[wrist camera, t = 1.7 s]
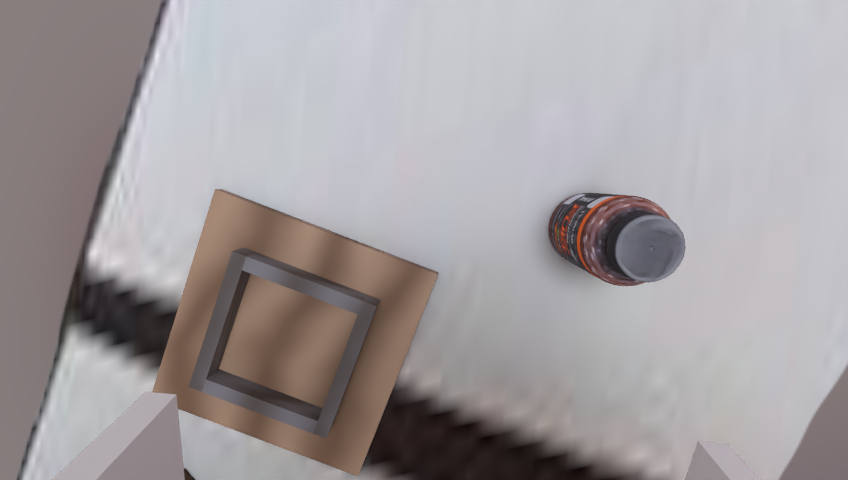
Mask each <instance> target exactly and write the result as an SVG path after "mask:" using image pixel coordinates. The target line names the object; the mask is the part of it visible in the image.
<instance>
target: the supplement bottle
mask: <svg viewBox="0 0 848 480" xmlns="http://www.w3.org/2000/svg"><path fill="white" fill-rule="evenodd" d="M549 233H550V238H551V242H552V244H553V246H554V248H555V249H556V250H557V252H558V253H559V254H560V255H561V256H562V257H564V258H565V260H566V259H567V260H568V261H570V262H572V263H573V264H575V265H577V266H578V267H580V268H582V269H583V270H585V271H587V272H589V273H590V274H592V275H594V276H595V277H598V278H599V279H601V280H603V281H605V282H608V283H610V284H613V285H618V286H635V285H639V284H642V283H645V282H653V281H658V280H661V279H663V278H666V277H667V276H669V275H670V274H671V273H673V272H674V271H675V270H676V269H677V267H678V266H679V265H680V263H681V261H682V260H683V257H684V253H685V239H684V235H683V233H682V231H681V230H680V228H679V227H678V226H677V224H676V223H674V222H673V221H672V220H671V219H670V217H669V216H668V214H667V213H666V212H665V211H664V210H663V209H662V208H661V207H660V206H658V205H657V204H656V203H654V202H652V201H650V200H648V199H645V198H641V197H637V196H627V195H612V194H599V193H583V194H578V195H574V196H572V197H570V198H568V199H566V200H565V201H563V202H562V203H561V204H560V205H559V206H558V207H557V209H556V210H555V212H554V213H553V215H552V218H551V221H550V226H549Z"/></svg>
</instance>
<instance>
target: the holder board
mask: <svg viewBox="0 0 848 480" xmlns="http://www.w3.org/2000/svg"><path fill="white" fill-rule="evenodd" d="M437 276H438V272H435V271H433V270H430V269H428V268H425V267H422V266H420V265H417V264H415V263H412V262H409V261H407V260H404V259H402V258H399V257H396V256H394V255H391V254H389V253H386V252H383V251H381V250H378V249H375V248H373V247H370V246H368V245H365V244H362V243H360V242H357V241H355V240H352V239H349V238H347V237H344V236H342V235H339V234H336V233H334V232H331V231H329V230H326V229H323V228H321V227H318V226H316V225H313V224H310V223H308V222H305V221H303V220H300V219H297V218H295V217H292V216H290V215H287V214H284V213H282V212H279V211H276V210H274V209H271V208H269V207H266V206H263V205H261V204H258V203H256V202H253V201H250V200H248V199H245V198H243V197H240V196H237V195H235V194H232V193H230V192H227V191H224V190H222V189H215V191H214V194H213V198H212V201H211V204H210V207H209V211H208V214H207V217H206V220H205V224H204V227H203V230H202V233H201V236H200V240H199V243H198V246H197V249H196V253H195V256H194V259H193V262H192V265H191V269H190V272H189V275H188V278H187V282H186V285H185V288H184V291H183V295H182V298H181V301H180V304H179V307H178V311H177V314H176V317H175V320H174V324H173V327H172V330H171V333H170V337H169V340H168V343H167V346H166V349H165V353H164V356H163V359H162V362H161V366H160V369H159V372H158V375H157V378H156V382H155V385H154V388H153V391H152V392H154V393H165V394H176V395H177V405H178V409H180V410H183V411H186V412H188V413H191V414H194V415H196V416H199V417H202V418H204V419H207V420H210V421H212V422H215V423H218V424H220V425H223V426H226V427H228V428H231V429H234V430H236V431H239V432H242V433H244V434H247V435H250V436H252V437H255V438H258V439H260V440H263V441H266V442H268V443H271V444H274V445H276V446H279V447H282V448H284V449H287V450H289V451H292V452H295V453H297V454H300V455H303V456H305V457H308V458H311V459H313V460H316V461H319V462H321V463H324V464H327V465H329V466H332V467H335V468H337V469H340V470H343V471H345V472H348V473H351V474H353V475H356V476H358V475H359V473H360V470H361V468H362V465H363V462H364V460H365V457H366V455H367V452H368V450H369V447H370V445H371V442H372V440H373V437H374V435H375V432H376V430H377V427H378V425H379V422H380V420H381V417H382V415H383V412H384V409H385V407H386V404H387V402H388V399H389V397H390V394H391V392H392V389H393V387H394V384H395V382H396V379H397V377H398V374H399V372H400V369H401V367H402V364H403V362H404V359H405V356H406V354H407V351H408V349H409V346H410V344H411V341H412V339H413V336H414V334H415V331H416V329H417V326H418V324H419V321H420V319H421V316H422V314H423V311H424V309H425V306H426V304H427V301H428V298H429V296H430V293H431V291H432V288H433V286H434V283H435V281H436V278H437Z"/></svg>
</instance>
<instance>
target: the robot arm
mask: <svg viewBox="0 0 848 480" xmlns="http://www.w3.org/2000/svg"><path fill="white" fill-rule="evenodd" d="M52 480H185V477H184V466H183V456H182V446H181V436H180V426H179V416H178V405H177V395H176V394H165V393H154V392H145V393H144V394H143V395H142V396H141V397H140V398H139V399H138V400H137V401H136V402H134V403H133V404H132V405H131V406H130V407H129V408H128V409H127V410H126V411H125V412H124V413H123V414H122V415H121V416H120V417H118V418H117V419H116V420H115V421H114V422H113V423H112V424H111V425H110V426H109V427H108V428H107V429H106V430H105V431H104V432H102V433H101V434H100V435H99V436H98V437H97V438H96V439H95V440H94V441H93V442H92V443H91V444H90V445H89V446H88V447H87V448H85V449H84V450H83V451H82V452H81V453H80V454H79V455H78V456H77V457H76V458H75V459H74V460H73V461H72V462H71V463H69V464H68V465H67V466H66V467H65V468H64V469H63V470H62V471H61V472H60V473H59V474H58V475H57V476H56V477H55V478H53V479H52ZM685 480H761V479H760V478H759V477H758V476H757V474H756V473H755V472H754V471H753V470H752V469H751V468H750V467H749V466H748V465H747V463H746V462H745V461H744V460H743V459H742V458H741V457H740V456H739V455H738V454H737V453H736V451H735V450H734V449H733V448H732V447H731V446H730V445H729V444H725V443H714V442H703V441H698V443H697V446H696V449H695V452H694V455H693V458H692V461H691V464H690V467H689V470H688V473H687V475H686V478H685Z"/></svg>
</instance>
